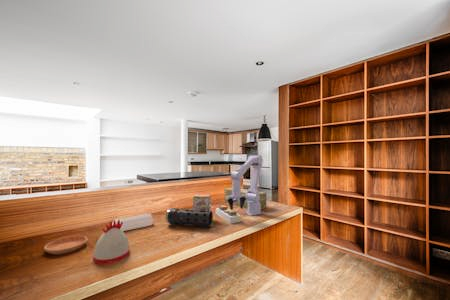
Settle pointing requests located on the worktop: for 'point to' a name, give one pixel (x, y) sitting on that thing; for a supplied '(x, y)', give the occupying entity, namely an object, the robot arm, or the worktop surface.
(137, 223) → the crystal
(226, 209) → the button
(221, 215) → the switch strip
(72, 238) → the saucer
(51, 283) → the worktop surface
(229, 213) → the button
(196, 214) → the muzzle brake
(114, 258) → the kitchen timer
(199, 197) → the candy bar box
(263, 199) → the soda box
